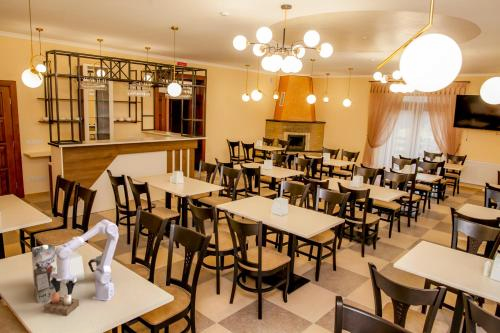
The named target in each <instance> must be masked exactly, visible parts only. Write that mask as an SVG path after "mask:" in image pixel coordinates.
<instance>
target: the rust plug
mask: <svg viewBox="0 0 500 333" xmlns="http://www.w3.org/2000/svg"><path fill="white" fill-rule="evenodd" d="M59 297H60V291H58V292H56V291H55V292H52V293H51V301H52V304H58V303H59Z"/></svg>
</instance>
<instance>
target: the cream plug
mask: <svg viewBox="0 0 500 333" xmlns="http://www.w3.org/2000/svg"><path fill="white" fill-rule="evenodd" d="M63 297H64V306H69V305H71V298H72V294H70V295H68V293H66V294H64V295H63Z"/></svg>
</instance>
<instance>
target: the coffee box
mask: <svg viewBox="0 0 500 333" xmlns="http://www.w3.org/2000/svg"><path fill="white" fill-rule="evenodd" d="M33 274H34V282H33V287H34V288H33V289H34V297H35V299H36V301H37V303H39V304H40V303H43V302H47V301H50V300H52V293H51V289H50V272H49V271H48V269H47V268H46V267H42V268H38V269H35V270H33V269H32V275H33Z"/></svg>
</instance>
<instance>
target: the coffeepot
mask: <svg viewBox="0 0 500 333" xmlns="http://www.w3.org/2000/svg"><path fill="white" fill-rule="evenodd" d="M103 253H104V252H103ZM103 253H101V255H99V256H96V257H95V258H92V259H89V262H88V263H87V265H88V267H89V269H90V271H91V273H94V271H95V270H96V269H95V270H94V267H93V264H92V263H95V265H96V267H97V266H98V265H100V263H101V259H102V256H103ZM114 257H115V255H113V258H112V260H113V259H114ZM110 282H112V278H111V279H110Z"/></svg>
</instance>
